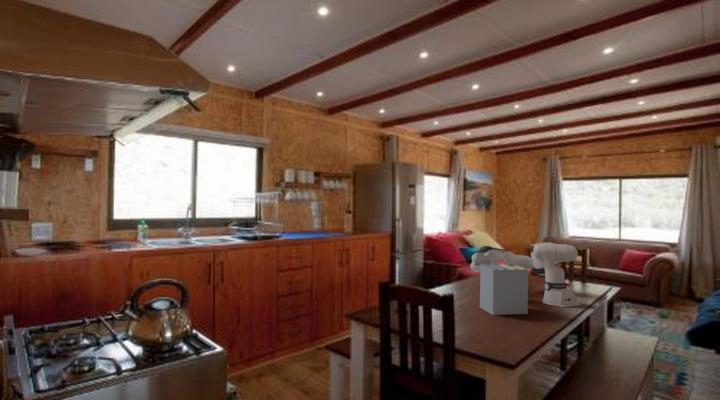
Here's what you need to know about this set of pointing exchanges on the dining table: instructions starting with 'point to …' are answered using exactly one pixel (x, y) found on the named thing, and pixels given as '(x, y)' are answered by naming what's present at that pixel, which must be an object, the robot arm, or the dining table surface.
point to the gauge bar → (499, 254)
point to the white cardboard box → (504, 289)
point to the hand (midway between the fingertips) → (492, 252)
